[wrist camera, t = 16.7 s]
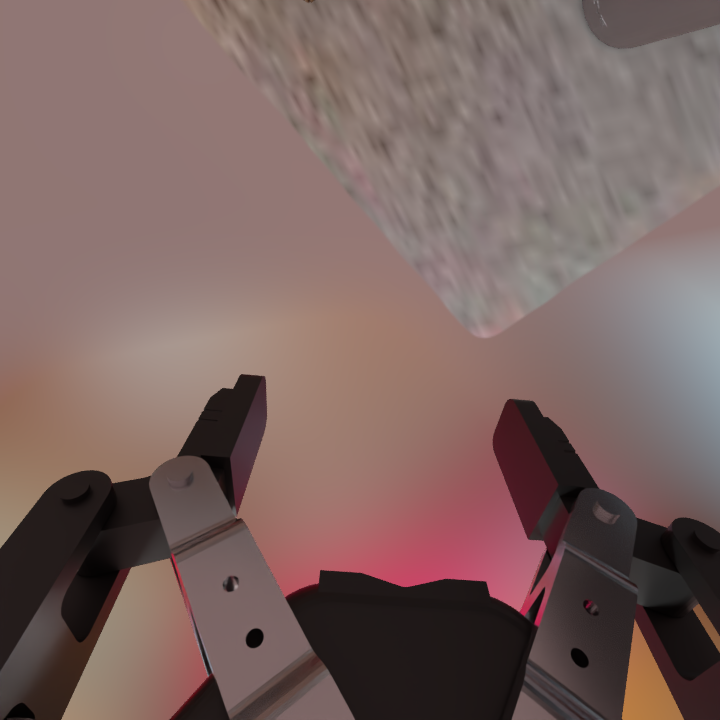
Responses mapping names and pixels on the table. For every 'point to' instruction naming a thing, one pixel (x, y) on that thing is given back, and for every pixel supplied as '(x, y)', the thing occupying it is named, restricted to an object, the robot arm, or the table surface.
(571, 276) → the table surface
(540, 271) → the table surface
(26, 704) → the robot arm
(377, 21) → the table surface
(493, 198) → the table surface
